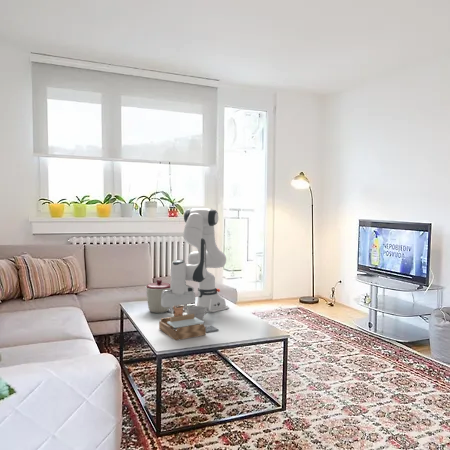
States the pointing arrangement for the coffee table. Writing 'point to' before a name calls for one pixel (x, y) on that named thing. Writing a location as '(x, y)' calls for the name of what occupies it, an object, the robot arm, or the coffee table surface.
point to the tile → (211, 329)
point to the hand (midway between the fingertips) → (178, 312)
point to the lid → (184, 320)
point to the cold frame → (181, 330)
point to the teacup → (197, 311)
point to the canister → (156, 296)
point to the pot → (178, 310)
